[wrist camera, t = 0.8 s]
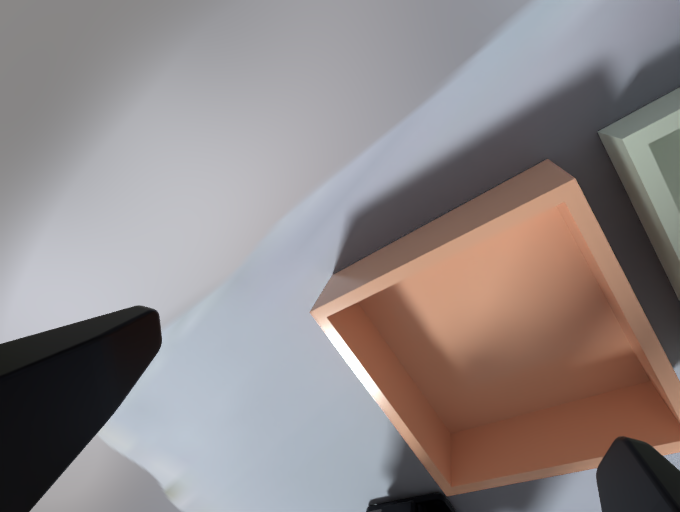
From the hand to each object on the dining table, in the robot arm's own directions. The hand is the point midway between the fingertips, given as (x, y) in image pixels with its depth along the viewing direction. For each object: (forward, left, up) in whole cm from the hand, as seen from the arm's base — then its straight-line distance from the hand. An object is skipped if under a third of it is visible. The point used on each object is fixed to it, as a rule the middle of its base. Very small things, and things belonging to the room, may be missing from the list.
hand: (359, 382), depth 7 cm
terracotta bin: (-8, 0, -13) cm, 15 cm away
